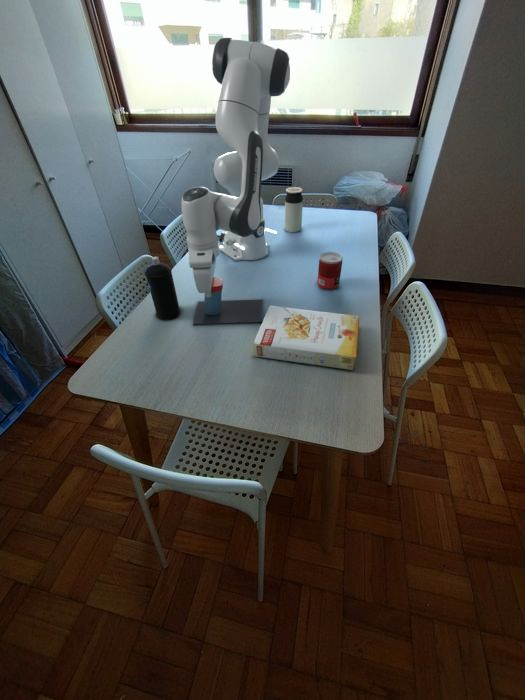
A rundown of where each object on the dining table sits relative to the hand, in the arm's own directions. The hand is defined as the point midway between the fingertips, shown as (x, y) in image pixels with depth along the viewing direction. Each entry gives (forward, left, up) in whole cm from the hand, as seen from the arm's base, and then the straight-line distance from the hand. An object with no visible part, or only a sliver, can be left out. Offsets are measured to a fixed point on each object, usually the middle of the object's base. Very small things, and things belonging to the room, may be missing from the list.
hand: (209, 290), depth 111 cm
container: (0, 0, -8) cm, 8 cm away
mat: (+4, +4, -9) cm, 10 cm away
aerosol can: (-11, -10, -9) cm, 18 cm away
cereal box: (+33, +9, -9) cm, 35 cm away
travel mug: (-25, +71, -9) cm, 76 cm away
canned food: (+18, +40, -9) cm, 45 cm away
